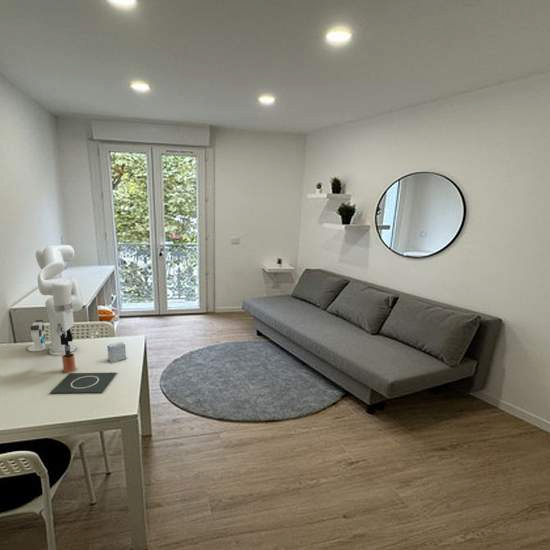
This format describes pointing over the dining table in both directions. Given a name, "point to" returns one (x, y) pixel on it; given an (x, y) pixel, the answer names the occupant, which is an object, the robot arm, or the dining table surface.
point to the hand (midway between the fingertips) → (66, 342)
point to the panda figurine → (38, 336)
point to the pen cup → (68, 363)
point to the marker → (67, 351)
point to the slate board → (83, 383)
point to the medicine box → (116, 352)
